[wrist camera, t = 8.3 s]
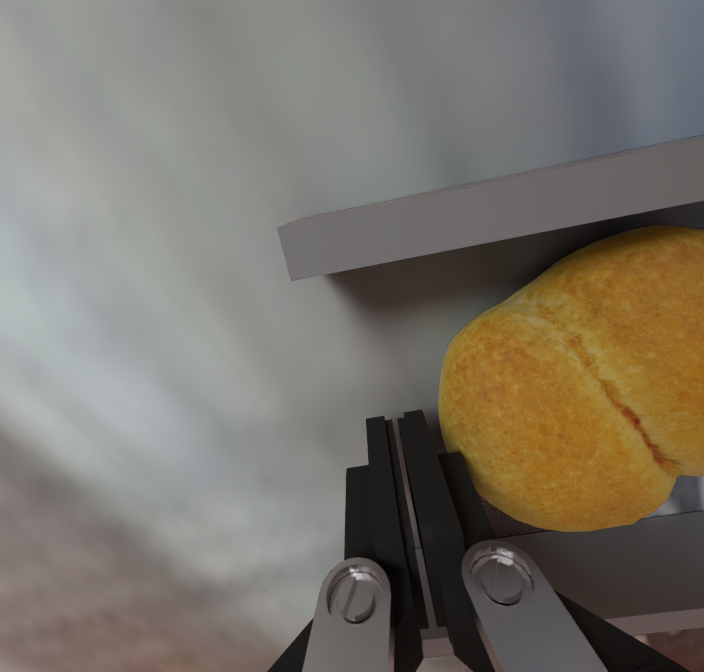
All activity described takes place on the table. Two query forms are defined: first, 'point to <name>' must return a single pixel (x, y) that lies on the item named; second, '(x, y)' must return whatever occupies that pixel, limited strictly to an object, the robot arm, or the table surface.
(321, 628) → the robot arm
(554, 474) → the bread roll
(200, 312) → the table surface
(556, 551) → the frame
